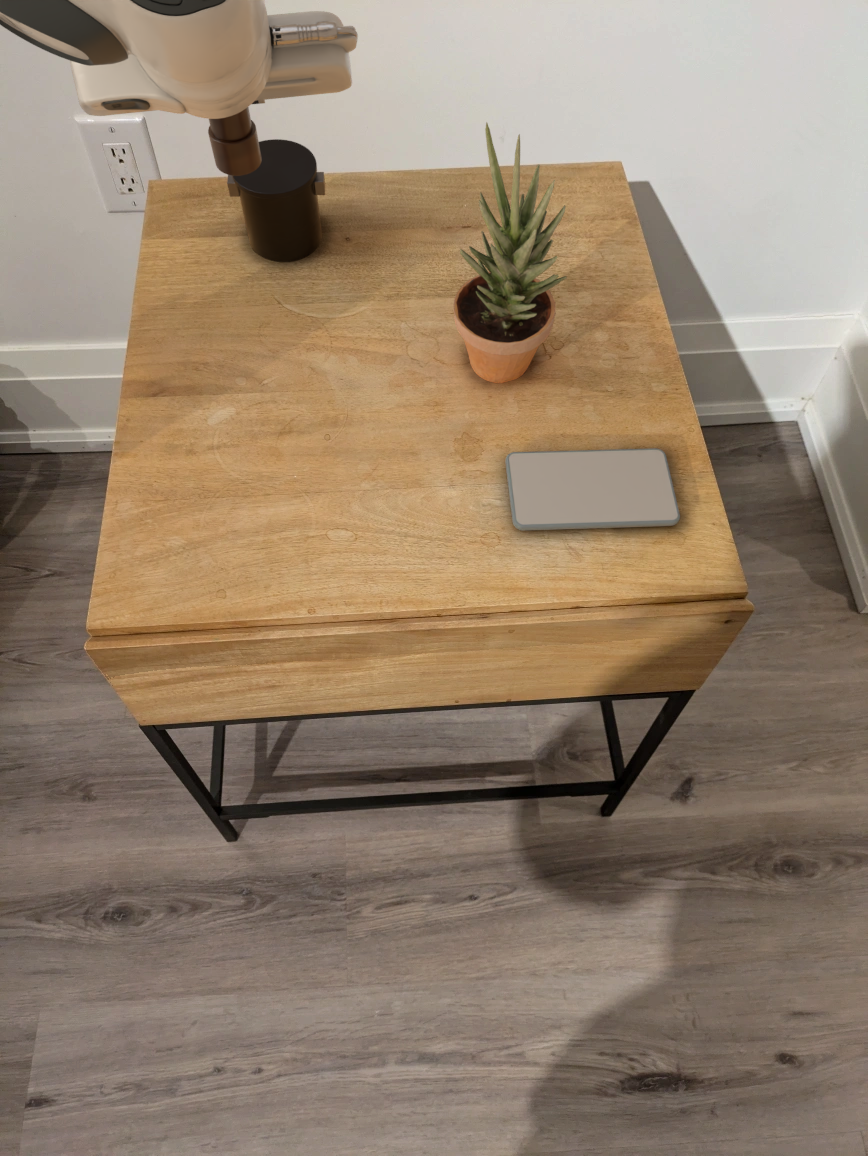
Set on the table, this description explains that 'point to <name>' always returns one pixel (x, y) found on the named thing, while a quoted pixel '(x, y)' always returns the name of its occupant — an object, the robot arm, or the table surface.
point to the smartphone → (591, 489)
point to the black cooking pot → (281, 201)
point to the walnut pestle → (235, 144)
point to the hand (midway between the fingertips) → (225, 96)
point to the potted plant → (508, 281)
